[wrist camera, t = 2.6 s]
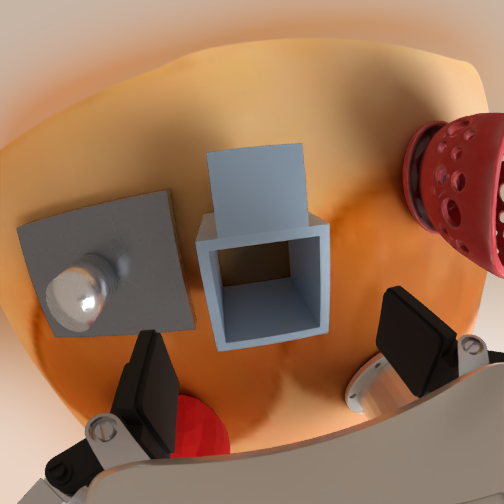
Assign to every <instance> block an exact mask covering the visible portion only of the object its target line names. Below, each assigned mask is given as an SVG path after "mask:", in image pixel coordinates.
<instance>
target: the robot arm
mask: <svg viewBox="0 0 504 504" xmlns="http://www.w3.org/2000/svg"><path fill="white" fill-rule="evenodd" d="M456 336H457V333H456V332H454V331H453V330H452V329H451V328H450V327H449V326H448V325H447V324H445V323H444V322H443V321H442V320H441V319H440V318H439V317H437V316H436V315H435V314H434V313H433V312H432V311H430V310H429V309H428V308H427V307H426V306H424V305H423V304H422V303H421V302H420V301H418V300H417V299H416V298H415V297H414V296H412V295H411V294H410V293H409V292H407V291H406V290H405V289H404V288H402V287H401V286H395V287H391V288H388V289H387V290H386V292H385V293H384V295H383V302H382V309H381V315H380V321H379V327H378V332H377V338H376V345H377V348H378V349H379V350H380V353H379V354H377V355H376V356H374V357H373V358H372V359H370V360H369V361H368V362H367V363H365V364H364V365H363V366H362V367H361V368H360V369H359V370H358V372H357V373H356V374H355V375H354V376H353V378H352V379H351V381H350V382H349V384H348V386H347V388H346V392H345V401H346V403H347V406H348V407H349V409H350V410H352V411H353V412H356V413H365V415H366V417H367V418H368V420H369V421H366V422H363V423H361V424H358V425H355V426H352V427H349V428H346V429H343V430H340V431H337V432H334V433H330V434H327V435H323V436H320V437H316V438H312V439H309V440H305V441H300V442H296V443H292V444H287V445H283V446H278V447H273V448H267V449H261V450H255V451H249V452H241V453H233V454H224V455H214V456H202V457H184V458H170V455H171V453H174V452H175V439H176V422H177V408H178V396H179V381H178V378H177V375H176V373H175V370H174V368H173V365H172V363H171V360H170V357H169V355H168V352H167V350H166V347H165V344H164V341H163V338H162V336H161V334H160V333H159V332H158V333H156V331H155V330H154V329H151V330H141V331H140V332H139V335H138V338H137V341H136V344H135V347H134V350H133V353H132V356H131V359H130V362H129V363H127V364H125V366H124V369H123V372H122V375H121V378H120V381H119V385H118V388H117V391H116V394H115V398H114V401H113V404H112V408H111V411H110V413H102V414H98V415H96V416H94V417H93V418H91V419H90V420H89V422H88V423H87V425H86V427H85V436H86V438H85V439H84V440H82V441H80V442H79V443H77V444H75V445H74V446H72V447H70V448H69V449H67V450H65V451H64V452H62V453H60V454H59V455H57V456H55V457H53V458H52V459H51V460H50V461H49V462H48V463H47V465H46V468H45V476H46V478H45V479H44V480H43V479H42V478H40V479H39V480H38V481H37V482H36V484H35V485H34V486H33V487H32V488H31V489H30V490H29V491H28V492H27V493H26V494H25V495H24V497H23V498H22V499H21V500H20V501H19V502H18V503H17V504H504V353H502V352H494V351H488V350H487V346H486V344H485V342H484V341H483V340H482V339H481V338H479V337H477V336H475V335H464V336H462V337H460V338H459V340H458V341H457V340H456Z"/></svg>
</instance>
